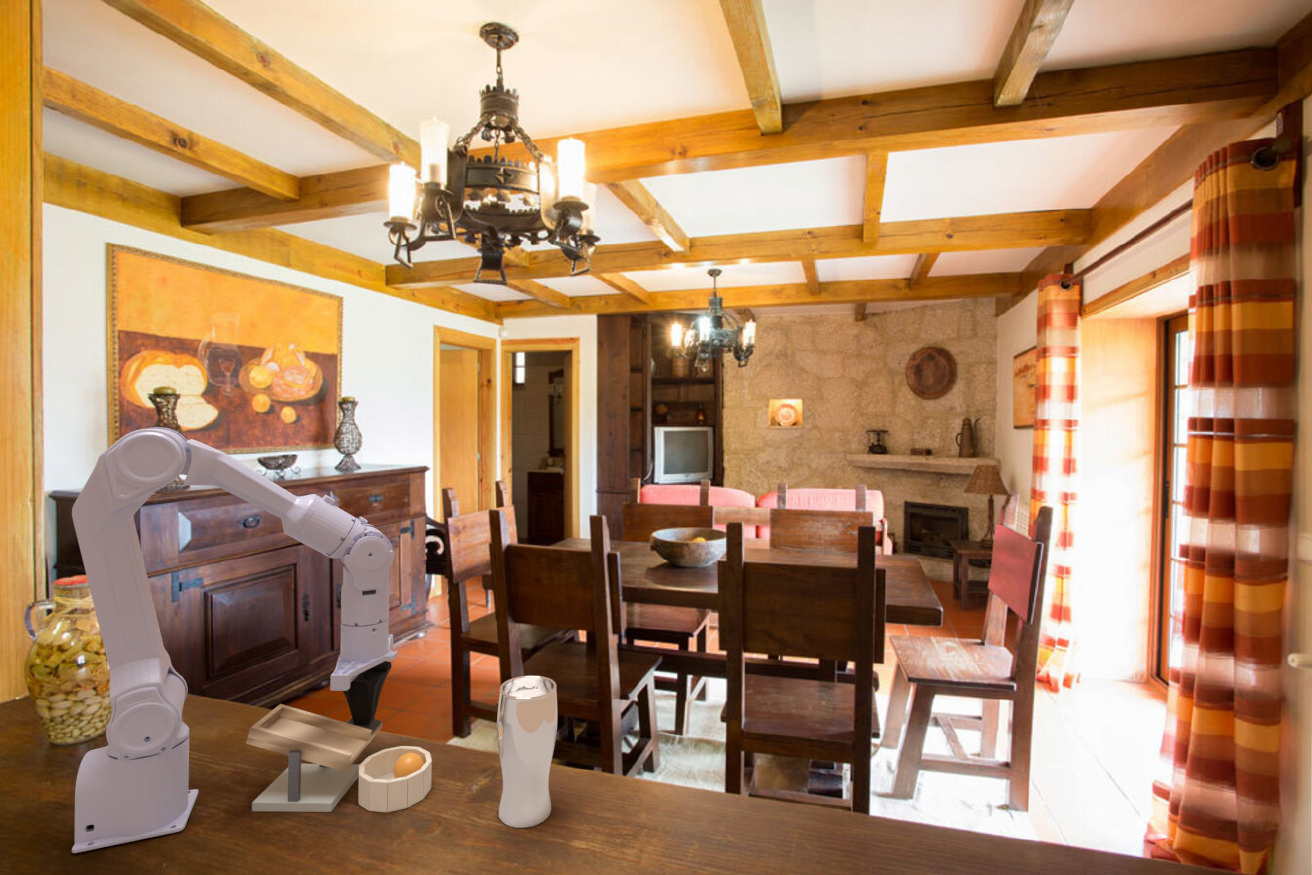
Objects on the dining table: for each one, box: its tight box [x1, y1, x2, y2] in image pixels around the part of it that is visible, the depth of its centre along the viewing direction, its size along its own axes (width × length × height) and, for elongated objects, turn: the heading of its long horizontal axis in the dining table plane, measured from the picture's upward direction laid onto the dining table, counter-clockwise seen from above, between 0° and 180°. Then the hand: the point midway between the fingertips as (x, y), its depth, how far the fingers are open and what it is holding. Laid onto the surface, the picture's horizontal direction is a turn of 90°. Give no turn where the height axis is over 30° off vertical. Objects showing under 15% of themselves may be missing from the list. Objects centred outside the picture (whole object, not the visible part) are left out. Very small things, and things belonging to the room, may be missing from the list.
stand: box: [251, 750, 361, 813], centre depth 77 cm, size 9×8×7 cm
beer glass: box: [496, 675, 558, 829], centre depth 74 cm, size 7×7×15 cm
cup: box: [357, 745, 433, 813], centre depth 78 cm, size 8×8×4 cm
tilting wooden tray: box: [245, 703, 384, 772], centre depth 79 cm, size 12×11×2 cm
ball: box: [393, 753, 424, 778], centre depth 78 cm, size 4×4×4 cm
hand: (363, 722), depth 83 cm, fingers closed, pressing on tilting wooden tray
